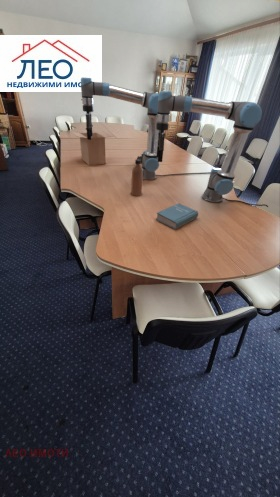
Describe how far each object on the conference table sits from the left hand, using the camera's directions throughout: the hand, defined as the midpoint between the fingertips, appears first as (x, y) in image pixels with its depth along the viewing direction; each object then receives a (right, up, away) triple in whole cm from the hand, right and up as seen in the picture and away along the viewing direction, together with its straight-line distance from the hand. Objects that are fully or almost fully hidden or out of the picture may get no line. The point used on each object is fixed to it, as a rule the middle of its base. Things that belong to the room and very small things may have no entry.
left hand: (90, 137), depth 170 cm
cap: (+37, -22, -12) cm, 45 cm away
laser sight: (+46, +9, +74) cm, 87 cm away
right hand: (+51, -26, -24) cm, 62 cm away
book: (+62, -66, -26) cm, 95 cm away
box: (-12, +9, +67) cm, 69 cm away
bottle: (+36, -42, +3) cm, 55 cm away
